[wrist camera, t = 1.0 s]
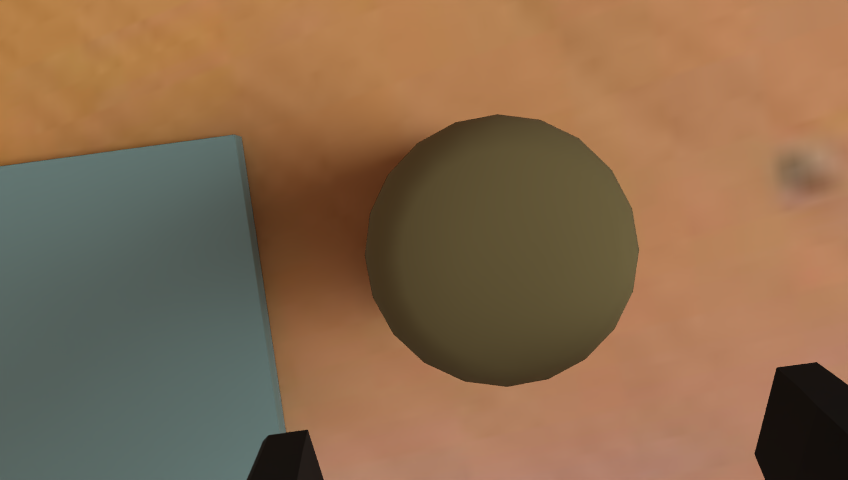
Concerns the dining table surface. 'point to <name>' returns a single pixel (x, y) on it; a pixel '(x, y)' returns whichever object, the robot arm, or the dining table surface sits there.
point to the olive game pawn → (501, 250)
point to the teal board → (133, 317)
